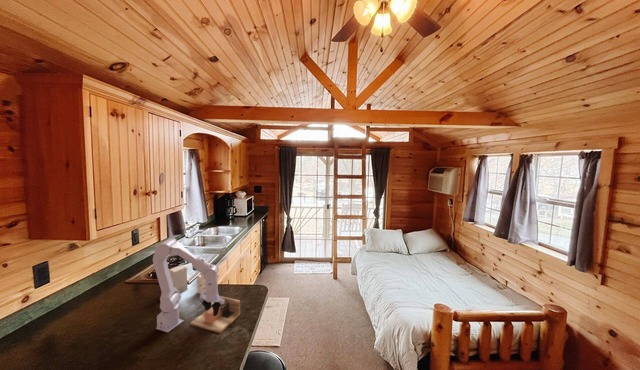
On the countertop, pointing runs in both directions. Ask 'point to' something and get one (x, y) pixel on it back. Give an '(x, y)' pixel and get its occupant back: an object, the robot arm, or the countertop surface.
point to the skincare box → (179, 278)
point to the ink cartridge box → (201, 284)
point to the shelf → (220, 321)
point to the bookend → (226, 311)
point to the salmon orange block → (211, 315)
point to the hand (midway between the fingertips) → (212, 314)
